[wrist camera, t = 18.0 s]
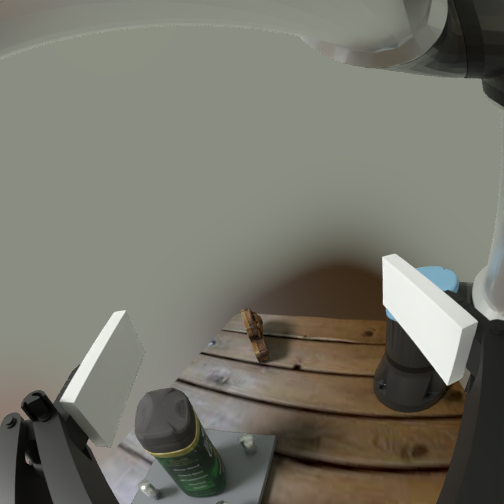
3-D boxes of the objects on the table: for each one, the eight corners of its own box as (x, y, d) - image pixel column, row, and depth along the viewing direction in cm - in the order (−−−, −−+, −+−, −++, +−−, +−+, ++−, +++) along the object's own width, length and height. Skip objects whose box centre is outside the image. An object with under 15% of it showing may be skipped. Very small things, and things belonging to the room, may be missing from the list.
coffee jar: (233, 493, 33) (189, 432, 27) (184, 501, 32) (125, 442, 26) (222, 448, 42) (185, 376, 36) (179, 457, 41) (131, 388, 35)
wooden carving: (278, 364, 63) (271, 329, 60) (259, 371, 62) (249, 336, 59) (259, 328, 78) (252, 296, 75) (243, 333, 78) (234, 301, 74)
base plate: (176, 428, 49) (166, 411, 48) (276, 439, 44) (271, 423, 42) (135, 507, 31) (118, 494, 30) (250, 539, 26) (240, 531, 24)
